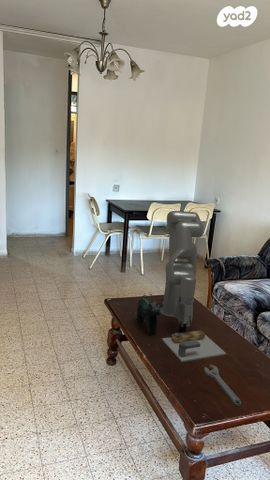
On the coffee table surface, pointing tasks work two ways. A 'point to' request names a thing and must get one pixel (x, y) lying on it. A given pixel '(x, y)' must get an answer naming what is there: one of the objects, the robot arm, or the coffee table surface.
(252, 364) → the coffee table surface
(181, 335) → the tan bar
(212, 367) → the adjustable wrench
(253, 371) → the coffee table surface
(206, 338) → the mounting board
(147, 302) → the ceramic cat
